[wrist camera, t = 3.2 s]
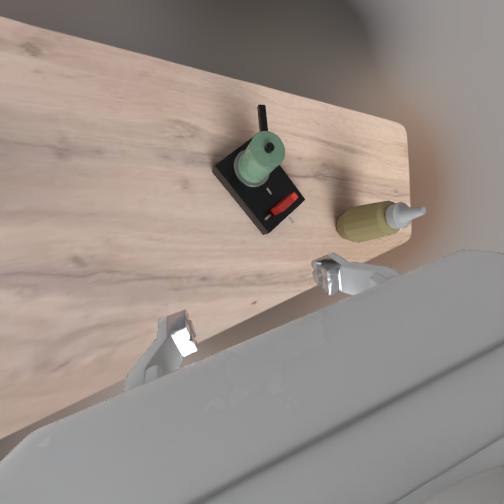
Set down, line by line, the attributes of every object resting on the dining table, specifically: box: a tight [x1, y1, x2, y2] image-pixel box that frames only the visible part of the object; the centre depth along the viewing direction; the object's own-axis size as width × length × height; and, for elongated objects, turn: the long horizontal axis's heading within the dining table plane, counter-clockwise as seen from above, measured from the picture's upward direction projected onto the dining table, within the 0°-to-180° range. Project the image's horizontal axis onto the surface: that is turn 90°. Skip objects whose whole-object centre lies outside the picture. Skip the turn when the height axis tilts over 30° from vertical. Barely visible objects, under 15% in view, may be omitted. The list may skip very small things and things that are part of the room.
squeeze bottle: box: [336, 201, 426, 242], centre depth 47 cm, size 8×8×18 cm
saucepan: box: [238, 105, 285, 183], centre depth 40 cm, size 9×8×8 cm
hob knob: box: [271, 192, 298, 215], centre depth 45 cm, size 4×1×4 cm, turn 131°
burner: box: [233, 150, 270, 187], centre depth 45 cm, size 7×7×1 cm
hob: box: [212, 138, 305, 235], centre depth 47 cm, size 18×11×3 cm, turn 41°
